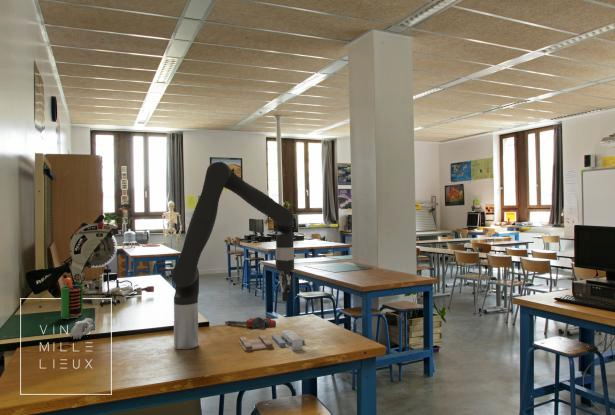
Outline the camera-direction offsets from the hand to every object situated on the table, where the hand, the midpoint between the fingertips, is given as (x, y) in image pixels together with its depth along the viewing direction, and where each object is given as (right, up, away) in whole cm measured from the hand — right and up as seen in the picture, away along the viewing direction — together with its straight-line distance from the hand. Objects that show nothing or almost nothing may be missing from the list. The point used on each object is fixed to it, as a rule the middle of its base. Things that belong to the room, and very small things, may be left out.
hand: (285, 301), depth 182 cm
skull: (-88, -18, +12) cm, 90 cm away
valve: (-16, -18, +27) cm, 36 cm away
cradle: (-11, -17, -7) cm, 22 cm away
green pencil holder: (-110, -18, +45) cm, 121 cm away
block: (+3, -15, -7) cm, 17 cm away
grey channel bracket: (+1, -17, -3) cm, 17 cm away
